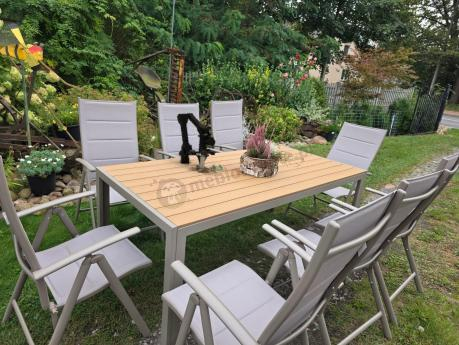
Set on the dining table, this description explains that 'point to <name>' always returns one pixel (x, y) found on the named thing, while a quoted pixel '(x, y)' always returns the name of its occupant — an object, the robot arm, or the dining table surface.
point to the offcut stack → (203, 171)
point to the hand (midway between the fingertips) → (201, 163)
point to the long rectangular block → (202, 162)
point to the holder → (217, 167)
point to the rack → (199, 168)
